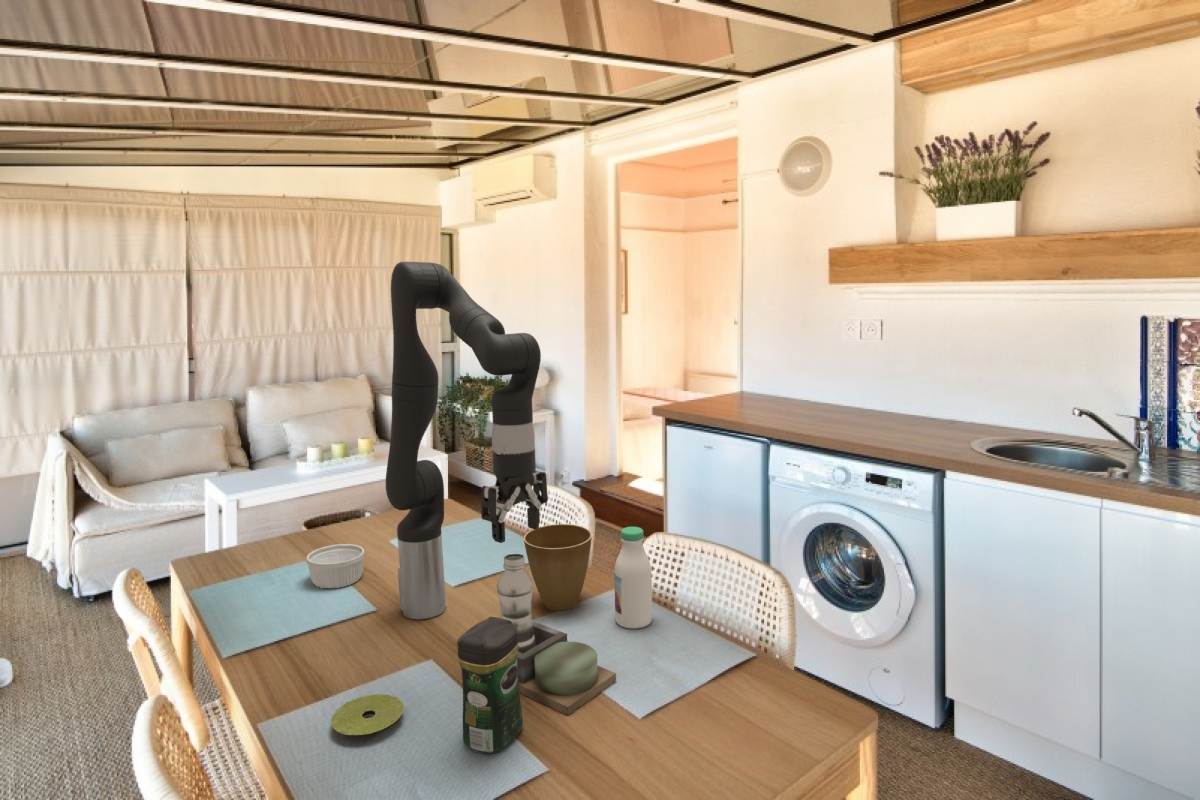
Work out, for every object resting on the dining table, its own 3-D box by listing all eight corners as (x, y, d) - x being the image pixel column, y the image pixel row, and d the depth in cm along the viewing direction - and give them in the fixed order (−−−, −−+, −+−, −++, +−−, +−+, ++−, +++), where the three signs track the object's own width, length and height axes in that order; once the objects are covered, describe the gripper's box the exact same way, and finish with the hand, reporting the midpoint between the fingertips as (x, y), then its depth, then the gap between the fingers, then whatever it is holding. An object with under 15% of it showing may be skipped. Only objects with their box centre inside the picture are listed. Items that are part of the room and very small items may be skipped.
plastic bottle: (531, 670, 129) (527, 564, 126) (495, 667, 131) (490, 562, 127) (541, 652, 136) (537, 551, 132) (506, 649, 137) (502, 549, 134)
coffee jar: (488, 714, 119) (483, 608, 116) (530, 725, 116) (525, 617, 113) (453, 748, 110) (446, 635, 107) (497, 762, 107) (491, 645, 104)
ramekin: (377, 576, 177) (375, 549, 176) (332, 596, 166) (330, 567, 165) (342, 566, 184) (340, 540, 183) (297, 584, 173) (294, 557, 172)
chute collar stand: (470, 669, 133) (468, 639, 132) (520, 641, 143) (519, 613, 142) (568, 715, 118) (567, 681, 117) (616, 680, 128) (615, 649, 127)
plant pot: (530, 590, 167) (528, 524, 165) (594, 589, 167) (593, 523, 164) (522, 619, 152) (519, 547, 150) (592, 619, 152) (590, 547, 149)
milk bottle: (657, 616, 153) (656, 526, 149) (644, 632, 146) (642, 538, 142) (623, 610, 156) (622, 521, 153) (609, 625, 149) (607, 533, 146)
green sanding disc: (355, 755, 109) (354, 743, 109) (319, 726, 117) (318, 715, 116) (418, 721, 117) (417, 710, 117) (380, 696, 125) (380, 686, 125)
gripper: (526, 437, 135) (529, 520, 137) (468, 451, 124) (472, 541, 126) (556, 442, 130) (558, 528, 133) (498, 458, 119) (502, 551, 122)
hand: (516, 534), depth 129 cm, fingers open, 8 cm apart
